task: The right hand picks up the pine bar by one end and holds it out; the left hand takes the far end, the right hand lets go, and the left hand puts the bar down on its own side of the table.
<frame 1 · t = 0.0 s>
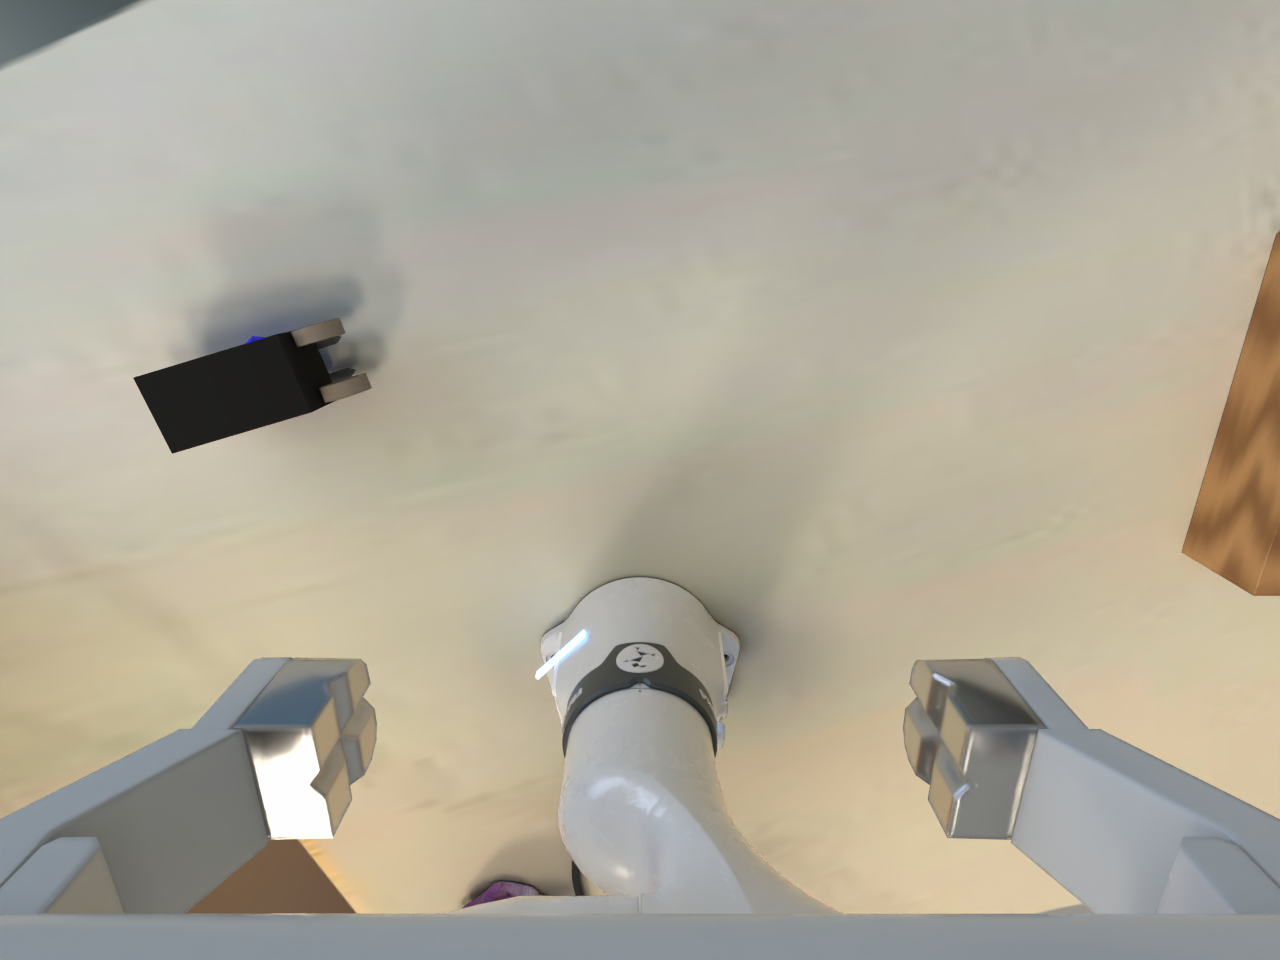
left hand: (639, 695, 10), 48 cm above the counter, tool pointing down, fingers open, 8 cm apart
figurine: (515, 902, 78), on the counter
bar: (1251, 405, 58), on the counter
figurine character: (287, 371, 57), on the counter
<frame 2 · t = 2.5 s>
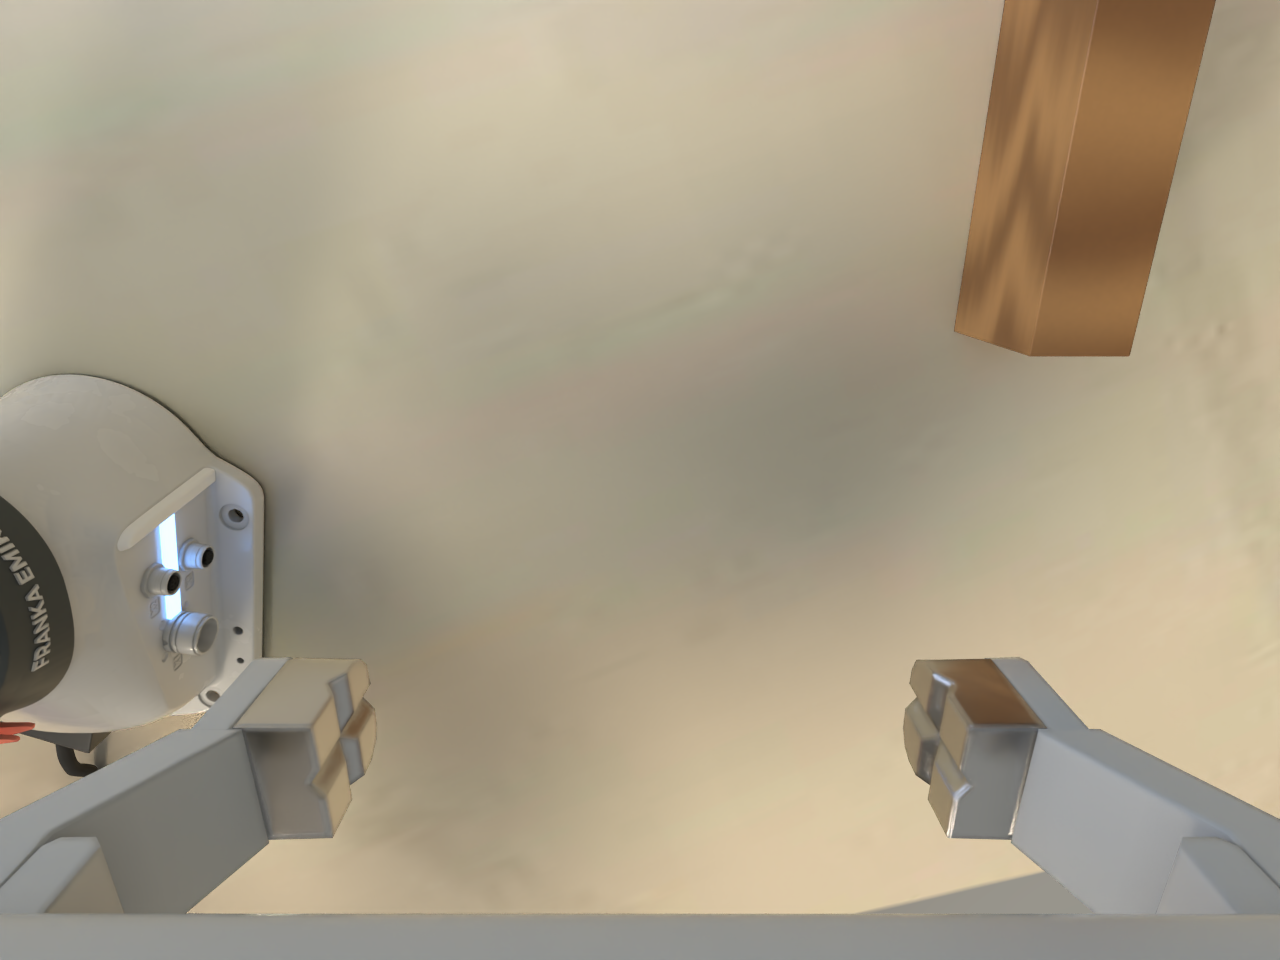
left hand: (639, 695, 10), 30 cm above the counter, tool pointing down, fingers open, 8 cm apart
bar: (1043, 45, 33), on the counter, touching right hand
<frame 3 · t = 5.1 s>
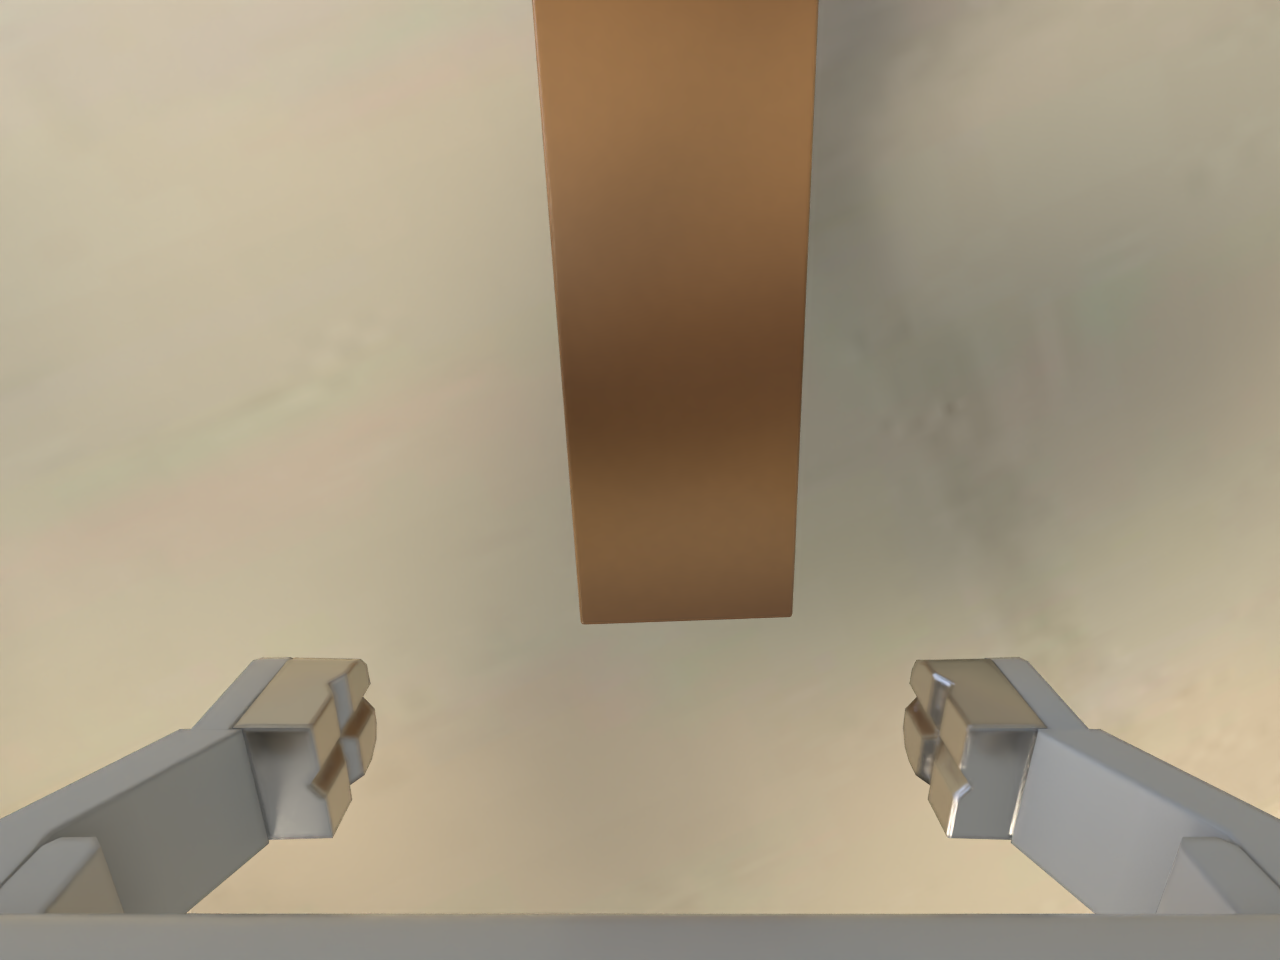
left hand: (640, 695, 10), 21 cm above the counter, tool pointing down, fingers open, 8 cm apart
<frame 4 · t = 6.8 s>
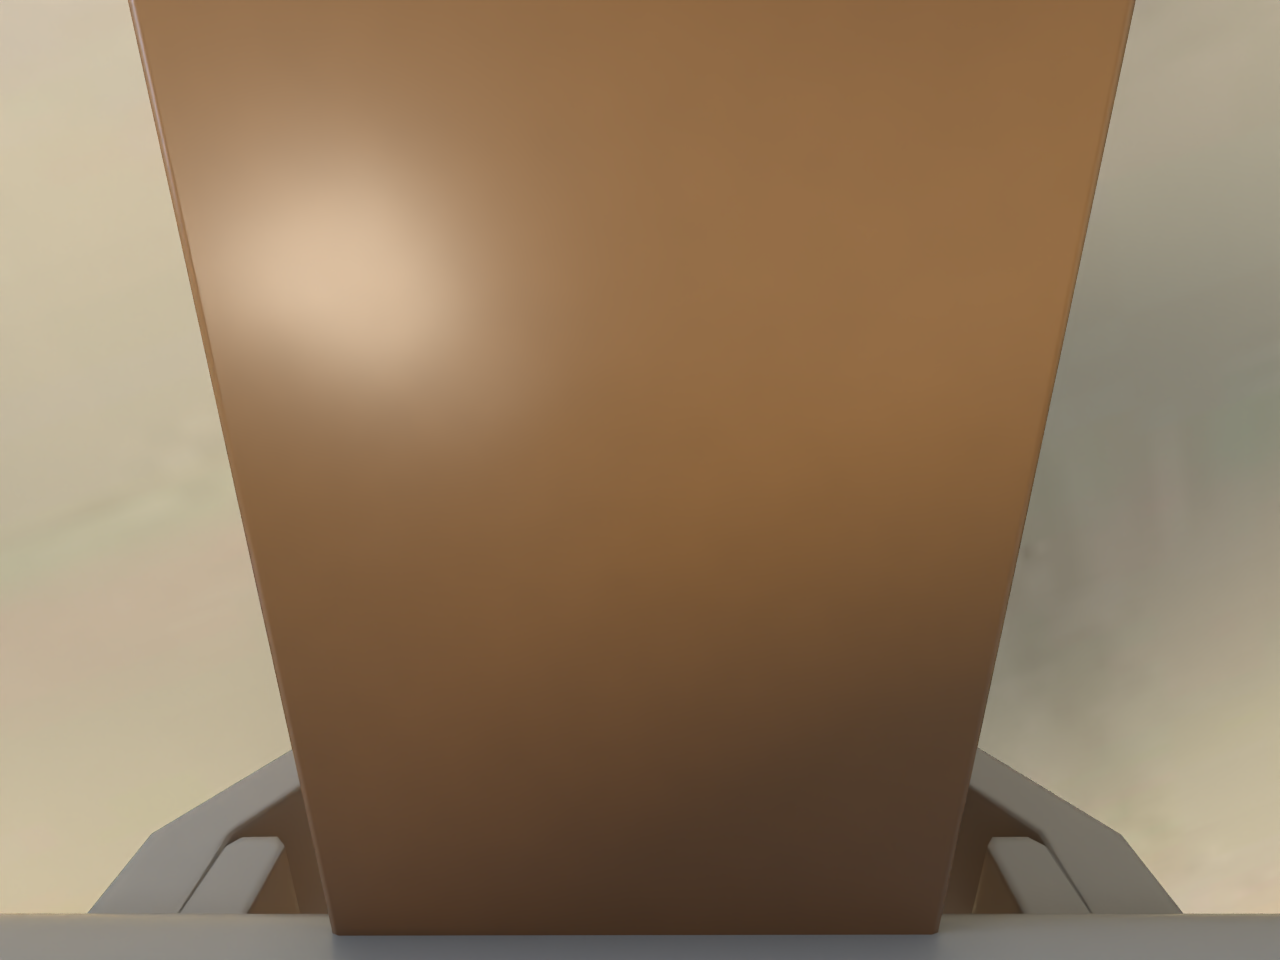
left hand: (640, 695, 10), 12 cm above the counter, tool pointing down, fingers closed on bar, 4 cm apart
when the right hand's fingers open (12 cm above the counter, at t = 7.9 s): bar stays where it is, held by the left hand.
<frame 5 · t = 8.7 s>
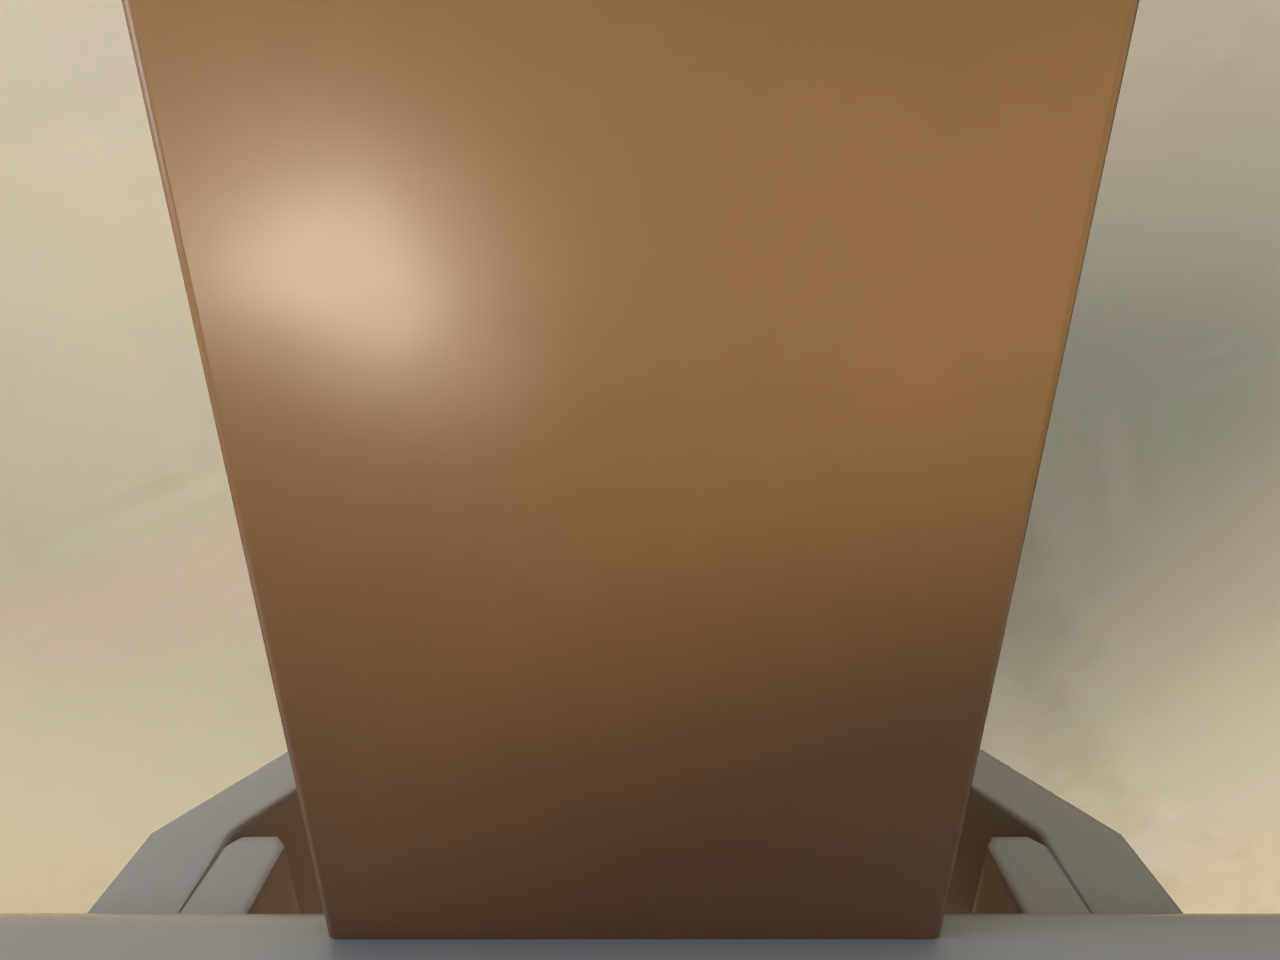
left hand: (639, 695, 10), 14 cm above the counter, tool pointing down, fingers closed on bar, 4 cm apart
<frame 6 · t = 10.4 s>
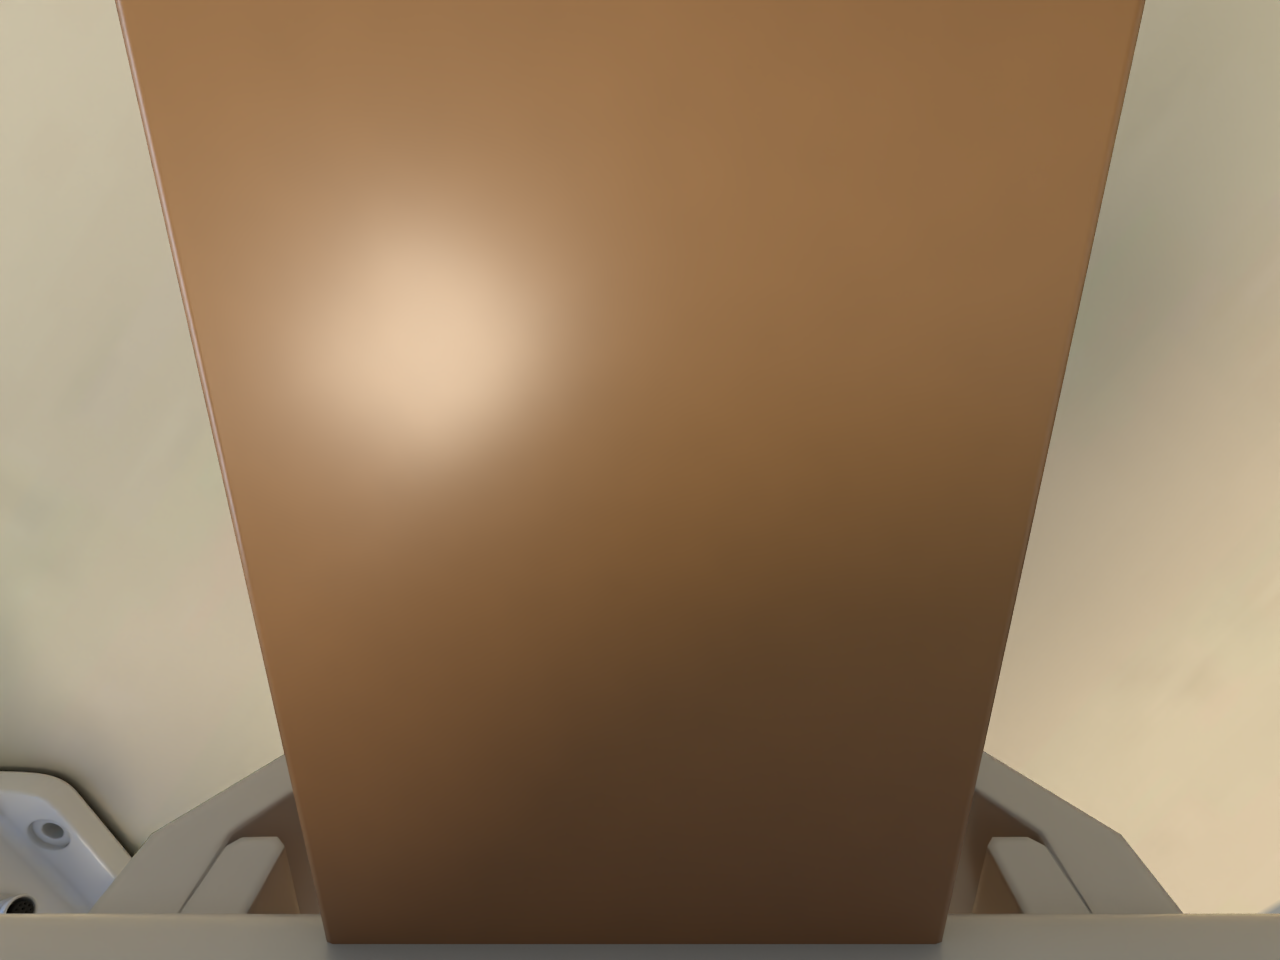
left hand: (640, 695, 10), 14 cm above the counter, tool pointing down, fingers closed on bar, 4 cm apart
when the left hand's fingers open (4 cm above the counter, at t = 12.0 s): bar stays where it is, on the counter.
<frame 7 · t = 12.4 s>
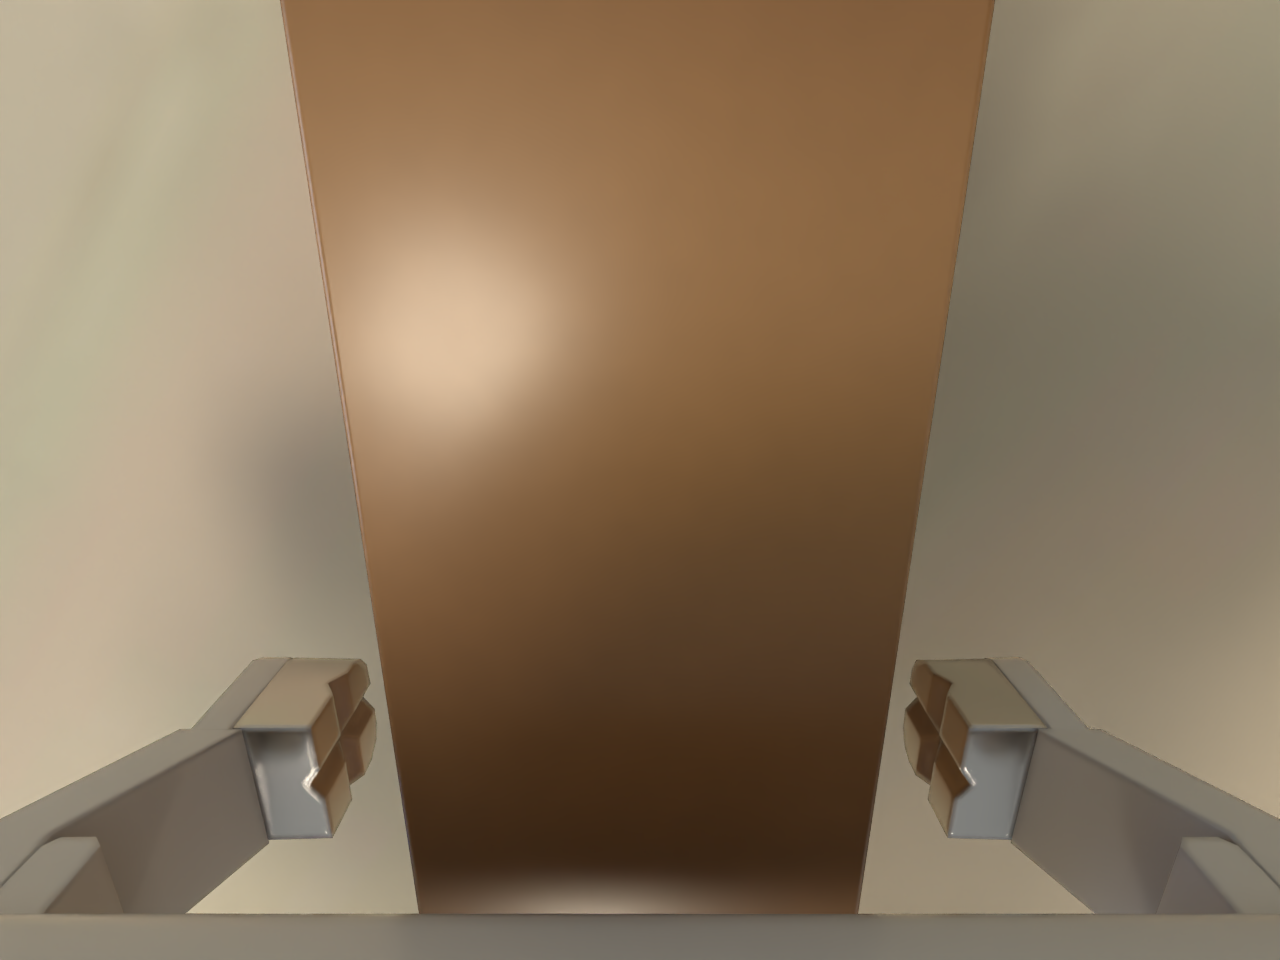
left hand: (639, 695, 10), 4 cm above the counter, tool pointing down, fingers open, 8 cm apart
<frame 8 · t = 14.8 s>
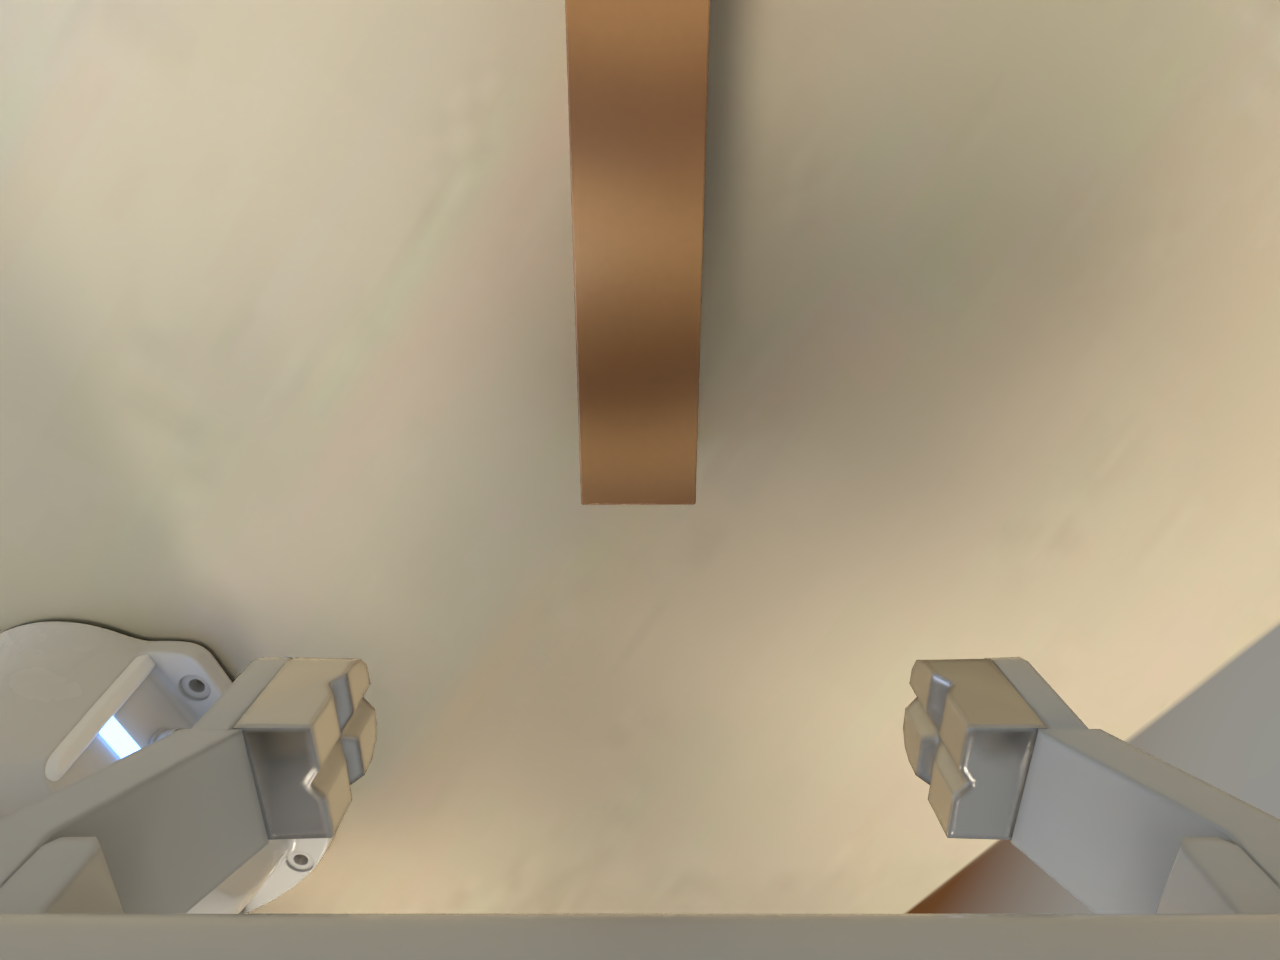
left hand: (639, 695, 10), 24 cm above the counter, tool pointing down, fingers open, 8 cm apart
bar: (638, 143, 30), on the counter
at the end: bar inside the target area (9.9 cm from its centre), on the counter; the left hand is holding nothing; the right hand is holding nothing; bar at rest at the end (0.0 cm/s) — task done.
